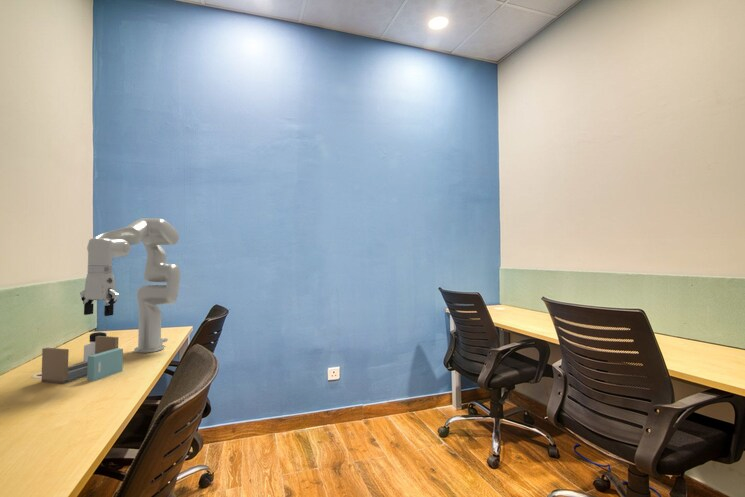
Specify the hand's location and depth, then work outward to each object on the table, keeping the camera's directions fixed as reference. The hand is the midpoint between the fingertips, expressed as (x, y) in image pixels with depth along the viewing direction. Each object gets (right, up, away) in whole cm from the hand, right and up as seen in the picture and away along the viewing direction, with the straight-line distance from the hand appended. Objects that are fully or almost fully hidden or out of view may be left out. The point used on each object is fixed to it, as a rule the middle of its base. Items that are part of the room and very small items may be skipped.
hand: (98, 314), depth 140 cm
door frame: (-9, -23, +3) cm, 25 cm away
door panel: (+2, -24, +1) cm, 24 cm away
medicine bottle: (-16, -24, +21) cm, 36 cm away
